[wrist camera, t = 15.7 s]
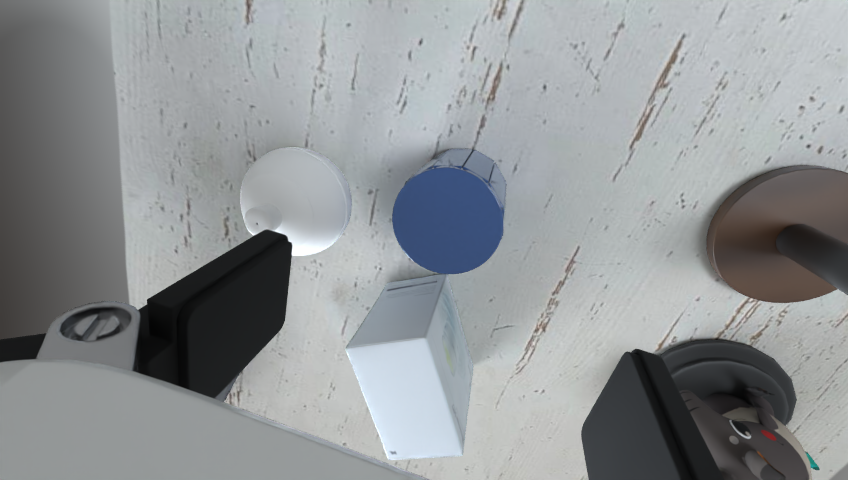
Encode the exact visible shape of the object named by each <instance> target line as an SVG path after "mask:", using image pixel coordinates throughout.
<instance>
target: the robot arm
mask: <svg viewBox="0 0 848 480" xmlns="http://www.w3.org/2000/svg"><path fill="white" fill-rule="evenodd" d="M291 257H292V243H291V242H289V241H288V237H287V236H286V235H284V234H281V233H278V232H275V231H272V230H269V229H266V230H263V231H262V232H260V233H258V234H257V235H255V236H253V237H251V238H250V239H248V240H246V241H245V242H243V243H241V244H240V245H238V246H236V247H235V248H233V249H231V250H230V251H228V252H226V253H225V254H223V255H221V256H220V257H218V258H216V259H214V260H213V261H211V262H209V263H208V264H206V265H204V266H203V267H201V268H199V269H198V270H196V271H194V272H193V273H191V274H189V275H188V276H186V277H184V278H183V279H181V280H179V281H177V282H176V283H174V284H172V285H171V286H169V287H167V288H166V289H164V290H162V291H161V292H159V293H157V294H156V295H154V296H152V297H151V298H149V299H147V305H145V306H144V307H142V308H141V309H139V310H137V309H136V308H135V307H134V306H132V305H129V304H127V303H122V302H117V301H102V302H94V303H88V304H85V305H81V306H78V307H75V308H73V309H71V310H69V311H67V312H64V313H63V314H62V315H60V316H59V317H57V318H56V319H55V320H54V321H53V323H52V324H51V325H50V327H49V329H48V332H47V333H46V334H38V335H31V336H23V337H16V338H9V339H1V340H0V480H430V479H427V478H424V477H422V476H419V475H416V474H414V473H411V472H409V471H406V470H403V469H401V468H398V467H395V466H393V465H390V464H388V463H385V462H382V461H380V460H377V459H374V458H372V457H369V456H366V455H364V454H361V453H359V452H356V451H353V450H351V449H348V448H345V447H343V446H340V445H337V444H335V443H332V442H329V441H327V440H324V439H321V438H319V437H316V436H313V435H311V434H308V433H305V432H303V431H300V430H297V429H295V428H292V427H289V426H287V425H284V424H281V423H279V422H276V421H273V420H271V419H268V418H265V417H262V416H260V415H257V414H254V413H252V412H249V411H246V410H244V409H241V408H238V407H236V406H233V405H230V404H228V403H225V402H222V401H219V400H216V399H215V398H216V397H217V396H218V395H219V394H220V393H221V392H222V391H223V390H224V389H225V388H226V387H227V386H228V385H229V384H230V382H231V381H232V380H233V379H234V378H235V377H236V376H237V375H238V374H239V373H240V372H241V371H242V370H243V369H244V368H245V367H246V366H247V365H248V363H249V362H250V361H251V360H252V359H253V358H254V357H255V356H256V355H257V354H258V353H259V352H260V351H261V350H262V349H263V348H264V347H265V346H266V345H267V343H268V342H269V341H270V340H271V339H272V338H273V337H274V336H275V335H276V334H277V333H278V332H279V331H280V329H281V328H282V326H283V324H284V321H285V314H286V305H287V295H288V286H289V276H290V266H291ZM581 437H582V443H583V449H584V455H585V461H586V466H587V472H588V478H589V480H724V478H723V476H722V474H721V472H720V470H719V468H718V466H717V464H716V462H715V460H714V458H713V456H712V454H711V452H710V450H709V448H708V447H707V445H706V443H705V441H704V439H703V437H702V435H701V433H700V431H699V429H698V427H697V425H696V423H695V421H694V419H693V417H692V415H691V413H690V411H689V409H688V407H687V405H686V403H685V402H684V400H683V398H682V396H681V394H680V392H679V390H678V388H677V386H676V384H675V382H674V380H673V378H672V376H671V374H670V372H669V370H668V368H667V366H666V364H665V362H664V360H663V359H662V358H661V357H660V356H658V355H655V354H652V353H649V352H645V351H642V350H639V349H635V350H633V351H632V352H631V353H630V352H625V353H624V354H623V356H622V357H621V359H620V361H619V363H618V364H617V366H616V368H615V370H614V371H613V373H612V375H611V377H610V378H609V380H608V382H607V384H606V385H605V387H604V389H603V391H602V392H601V394H600V396H599V397H598V399H597V401H596V403H595V404H594V406H593V408H592V410H591V411H590V413H589V415H588V417H587V418H586V420H585V422H584V424H583V427H582V433H581Z"/></svg>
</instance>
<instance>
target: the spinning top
mask: <svg viewBox="0 0 848 480" xmlns="http://www.w3.org/2000/svg"><path fill="white" fill-rule="evenodd" d="M240 205H241V212H242V216H243V219H244V222H245V226H246V228H247V229H248V231H249V232H250V233H251V234H252V235H254V236H255V235H257V234H258V233H260V232H262V231H263V230H266V229H269V230H272V231H275V232H278V233H281V234H284V235H286V236H287V237H288V241H289V242H291V243H292V255H295V256H303V255H310V254H315V253H318V252H320V251H322V250H324V249H326V248H328V247H330V246H331V245H332V244H334V243H335V242H336V241H337V240H338V239H339V237H340V236H341V235H342V233H343V232H344V230H345V229H346V227H347V225H348V222H349V219H350V215H351V209H352V199H351V192H350V188H349V185H348V182H347V180H346V178H345V176H344V175H343V173H342V172H341V170H340V169H339V168H338V167H337V166H336V165H335V164H334V163H333V162H332V161H331V160H329V159H328V158H327V157H325V156H323V155H322V154H320V153H318V152H316V151H313V150H310V149H306V148H301V147H284V148H278V149H275V150H272V151H270V152H268V153H266V154H264V155H263V156H261V157H260V158H258V159H257V160H256V161H255V162H254V163H253V164H252V165H251V167H250V168H249V169H248V171H247V173H246V175H245V177H244V179H243V182H242V186H241V191H240Z"/></svg>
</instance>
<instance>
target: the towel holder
mask: <svg viewBox="0 0 848 480" xmlns="http://www.w3.org/2000/svg"><path fill="white" fill-rule="evenodd" d="M707 254H708V257H709V260H710V263H711V265H712V267H713V269H714V270H715V271H716V273H717V274H718V275H719V276H720V277H721V278H722V279H723V280H724V281H725V282H726V283H727V284H728V285H730V286H731V287H732V288H733V289H735V290H736V291H738V292H739V293H741V294H743V295H745V296H748V297H750V298H753V299H757V300H761V301H766V302H774V303H790V302H799V301H805V300H809V299H813V298H817V297H820V296H823V295H825V294H828V293H830V292H832V291H834V290H836V289H839V290H841V291H842V292H844V293H845V294H847V295H848V173H845V172H842V171H839V170H835V169H831V168H826V167H821V166H810V165H804V166H792V167H786V168H781V169H777V170H774V171H771V172H768V173H765V174H763V175H760V176H758V177H756V178H754V179H752V180H750V181H749V182H747V183H746V184H744V185H742V186H741V187H740V188H738V189H737V190H736V191H734V192H733V193H732V194H731V195H730V196H729V197H728V198H727V199H726V200H725V201H724V202H723V204H722V205H721V206H720V207H719V209H718V210H717V212H716V213H715V215H714V217H713V219H712V221H711V223H710V226H709V229H708V234H707Z"/></svg>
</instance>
